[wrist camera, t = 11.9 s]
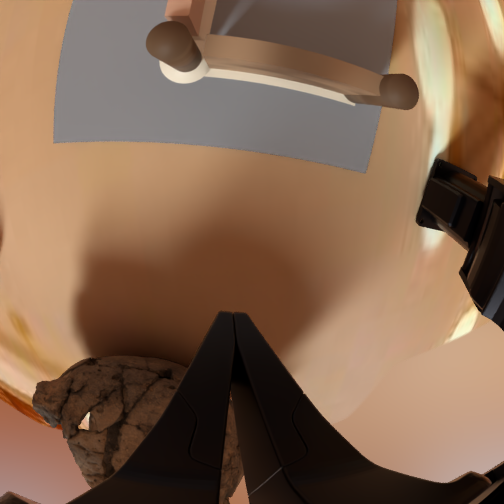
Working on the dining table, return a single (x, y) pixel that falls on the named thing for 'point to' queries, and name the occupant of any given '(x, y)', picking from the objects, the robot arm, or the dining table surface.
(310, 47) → the card
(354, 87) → the fixed fence
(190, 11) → the swing panel
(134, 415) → the clay pot
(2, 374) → the dining table surface
